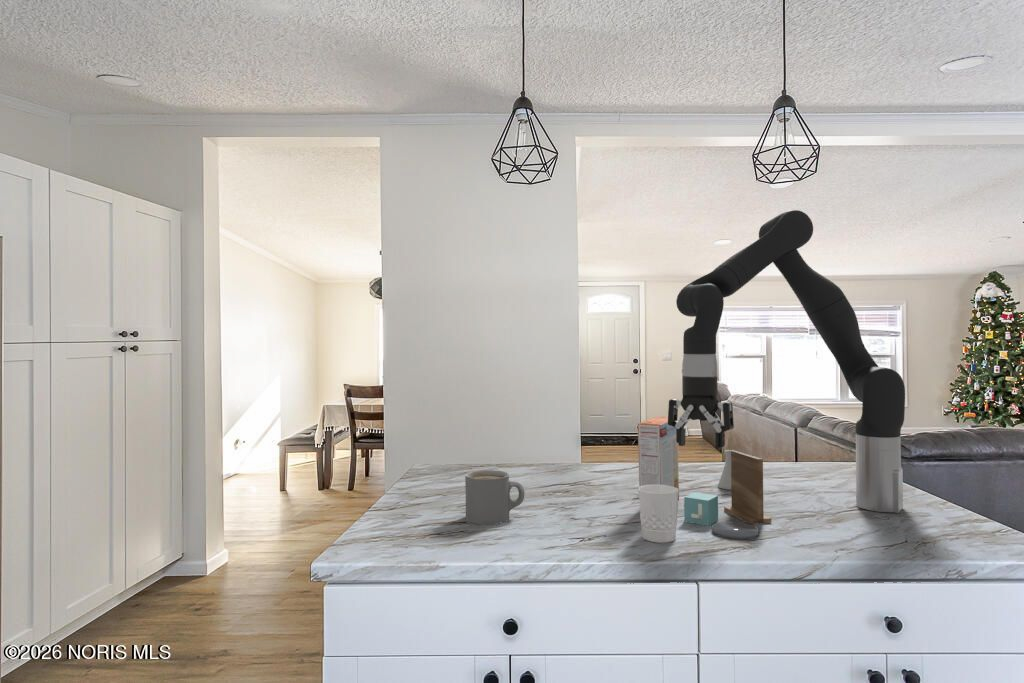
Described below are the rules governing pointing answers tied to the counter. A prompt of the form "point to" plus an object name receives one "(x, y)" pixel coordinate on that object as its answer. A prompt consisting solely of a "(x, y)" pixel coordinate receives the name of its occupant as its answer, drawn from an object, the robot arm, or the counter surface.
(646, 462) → the cracker box
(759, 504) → the wooden stand
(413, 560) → the counter surface
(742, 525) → the coaster
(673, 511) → the white cup
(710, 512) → the letter cube
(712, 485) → the counter surface
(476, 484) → the coffee mug
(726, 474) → the flask
